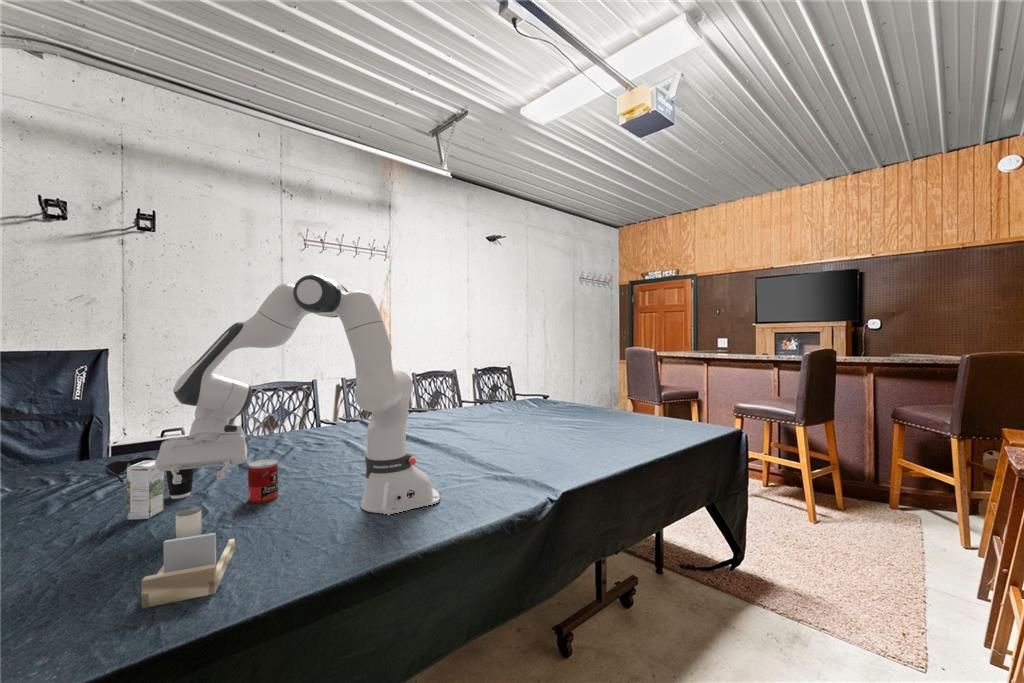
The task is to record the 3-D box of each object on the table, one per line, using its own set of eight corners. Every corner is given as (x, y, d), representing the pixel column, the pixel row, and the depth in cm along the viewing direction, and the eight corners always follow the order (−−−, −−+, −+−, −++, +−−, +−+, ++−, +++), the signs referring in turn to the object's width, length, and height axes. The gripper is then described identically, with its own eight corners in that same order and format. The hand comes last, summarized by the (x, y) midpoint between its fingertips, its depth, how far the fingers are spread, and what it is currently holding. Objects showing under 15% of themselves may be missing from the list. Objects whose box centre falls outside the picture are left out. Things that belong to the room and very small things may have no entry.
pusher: (165, 580, 84) (165, 540, 84) (216, 571, 87) (215, 532, 87) (163, 583, 83) (163, 542, 83) (215, 573, 86) (214, 534, 86)
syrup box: (142, 511, 119) (142, 460, 119) (165, 510, 120) (164, 459, 120) (126, 520, 114) (125, 466, 114) (149, 519, 114) (149, 465, 114)
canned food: (265, 504, 124) (264, 467, 124) (241, 502, 126) (241, 465, 126) (284, 495, 132) (283, 459, 132) (261, 493, 133) (261, 458, 133)
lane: (176, 559, 93) (176, 536, 93) (234, 549, 98) (234, 527, 98) (141, 608, 76) (141, 580, 76) (214, 593, 81) (214, 567, 81)
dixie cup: (176, 502, 126) (175, 465, 126) (157, 499, 129) (157, 462, 129) (202, 492, 134) (202, 458, 134) (184, 490, 136) (184, 456, 136)
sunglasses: (151, 467, 161) (151, 454, 161) (165, 475, 152) (165, 461, 152) (102, 477, 150) (102, 463, 150) (114, 486, 141) (113, 471, 141)
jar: (204, 532, 107) (203, 504, 107) (198, 540, 102) (198, 511, 102) (179, 535, 105) (179, 507, 105) (172, 544, 100) (172, 515, 100)
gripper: (159, 432, 114) (145, 479, 105) (248, 426, 122) (241, 469, 113) (165, 445, 118) (152, 491, 109) (250, 438, 126) (244, 481, 117)
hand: (198, 480), depth 111 cm, fingers open, 8 cm apart
